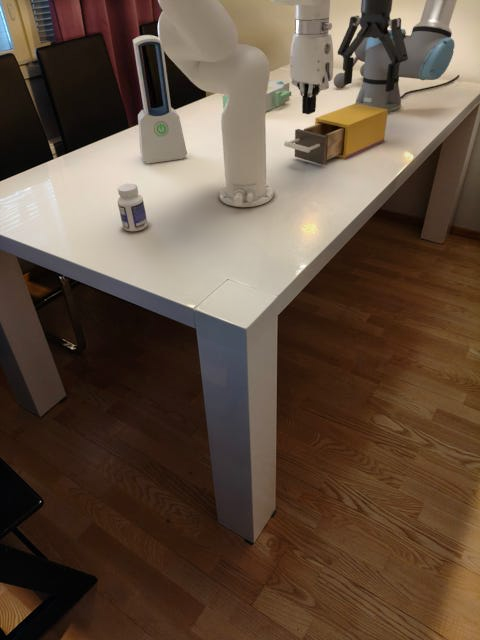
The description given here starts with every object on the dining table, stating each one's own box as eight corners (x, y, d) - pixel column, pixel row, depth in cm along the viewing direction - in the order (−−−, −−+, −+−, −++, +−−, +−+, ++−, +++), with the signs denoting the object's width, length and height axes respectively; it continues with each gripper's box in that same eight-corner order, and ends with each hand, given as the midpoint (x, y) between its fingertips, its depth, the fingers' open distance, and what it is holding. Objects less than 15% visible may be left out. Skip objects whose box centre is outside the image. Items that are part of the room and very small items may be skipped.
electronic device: (143, 164, 135) (122, 41, 116) (140, 155, 141) (120, 37, 122) (187, 158, 137) (173, 36, 119) (183, 149, 143) (169, 32, 124)
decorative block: (254, 76, 186) (299, 81, 176) (254, 94, 190) (299, 100, 180) (212, 92, 170) (260, 98, 160) (214, 111, 174) (260, 118, 164)
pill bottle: (149, 220, 107) (142, 181, 102) (146, 231, 103) (138, 191, 98) (125, 221, 107) (116, 182, 102) (121, 232, 103) (112, 193, 98)
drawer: (309, 170, 124) (310, 142, 119) (281, 162, 129) (281, 135, 125) (361, 147, 135) (364, 121, 131) (333, 140, 141) (335, 114, 137)
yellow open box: (345, 159, 131) (348, 125, 126) (313, 150, 138) (315, 117, 132) (383, 141, 141) (388, 109, 135) (352, 134, 147) (355, 103, 142)
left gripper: (349, 27, 108) (342, 114, 119) (297, 23, 116) (296, 104, 128) (327, 32, 104) (322, 121, 115) (276, 27, 113) (276, 111, 124)
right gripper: (431, -6, 115) (416, 90, 128) (345, -8, 130) (339, 78, 143) (414, -3, 111) (400, 96, 124) (328, -6, 126) (323, 83, 139)
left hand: (308, 112), depth 121 cm, fingers closed
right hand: (367, 87), depth 134 cm, fingers open, 13 cm apart
